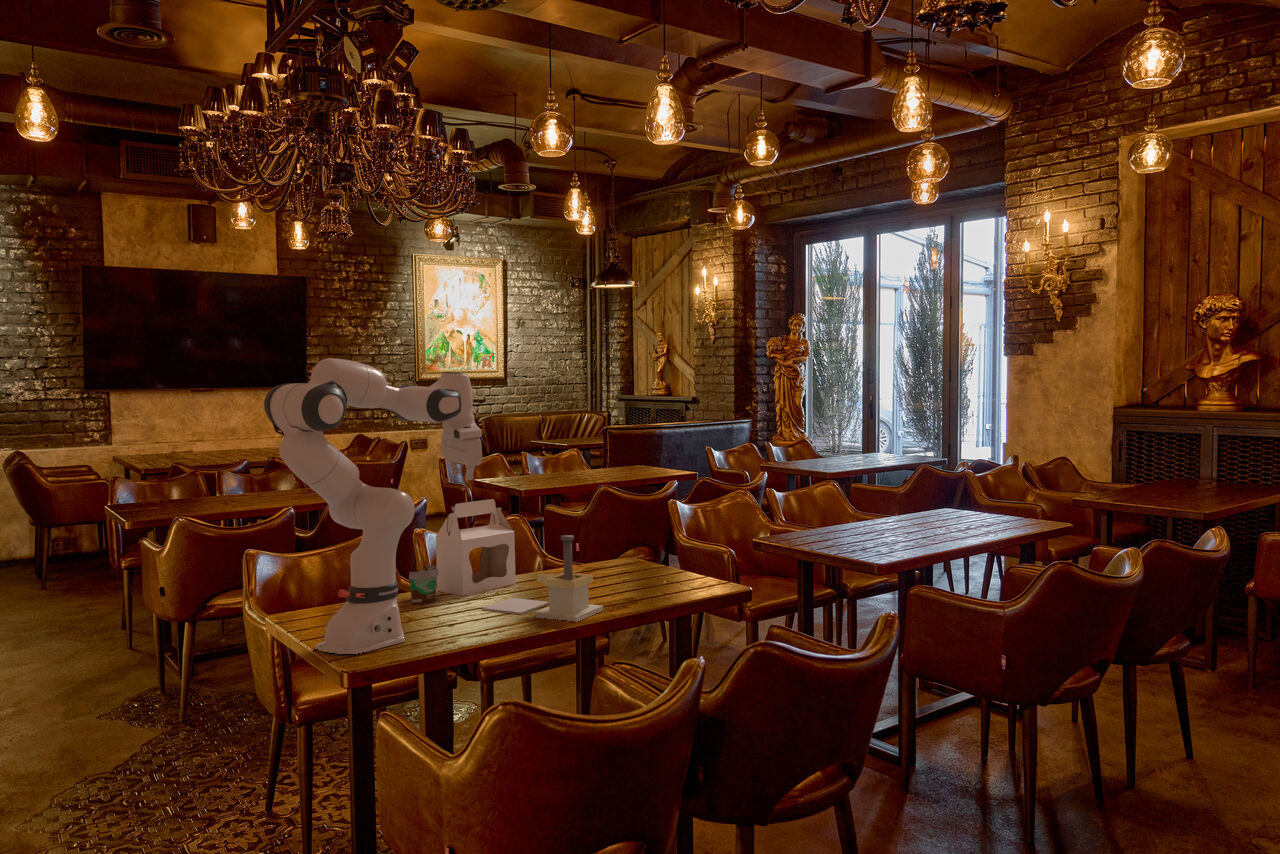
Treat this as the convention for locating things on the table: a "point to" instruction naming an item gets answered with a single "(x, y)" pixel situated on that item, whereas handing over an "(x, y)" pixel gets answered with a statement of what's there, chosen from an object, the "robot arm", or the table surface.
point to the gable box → (459, 544)
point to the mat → (515, 606)
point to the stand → (568, 594)
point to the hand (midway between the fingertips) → (462, 477)
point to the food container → (423, 585)
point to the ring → (565, 580)
